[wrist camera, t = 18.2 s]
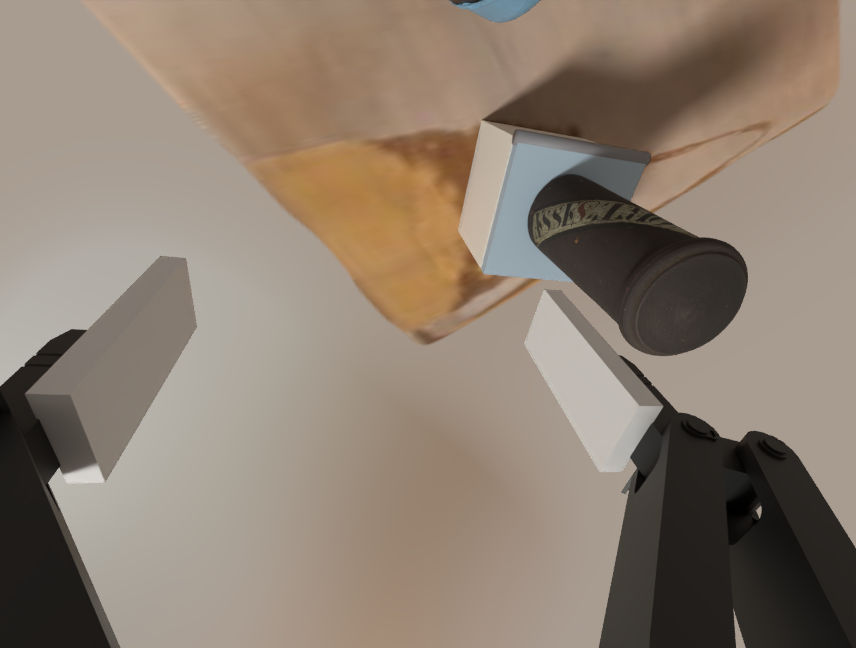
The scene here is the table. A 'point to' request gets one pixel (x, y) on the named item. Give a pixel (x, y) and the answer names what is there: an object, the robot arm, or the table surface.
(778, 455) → the robot arm
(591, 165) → the lid
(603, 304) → the container
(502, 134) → the box
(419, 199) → the table surface
